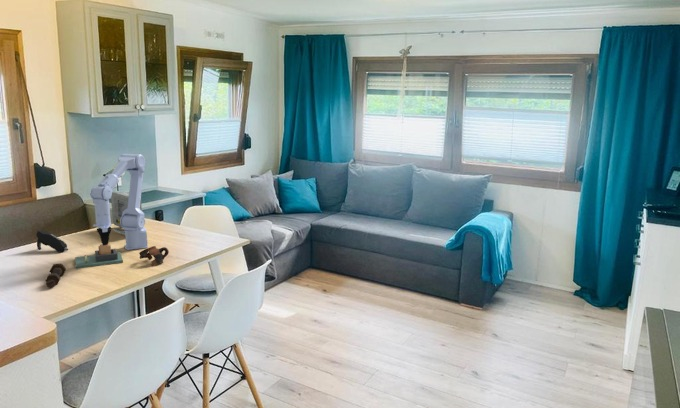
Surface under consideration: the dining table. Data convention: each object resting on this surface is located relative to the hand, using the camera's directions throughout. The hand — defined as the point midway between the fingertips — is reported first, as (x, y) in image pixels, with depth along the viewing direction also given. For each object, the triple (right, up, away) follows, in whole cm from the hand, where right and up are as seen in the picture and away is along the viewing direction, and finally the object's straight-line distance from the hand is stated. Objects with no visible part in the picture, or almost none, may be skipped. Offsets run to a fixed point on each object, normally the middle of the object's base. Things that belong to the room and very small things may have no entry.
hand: (105, 244), depth 220 cm
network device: (-10, +3, +47) cm, 48 cm away
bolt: (-8, -13, -24) cm, 29 cm away
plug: (0, -6, +1) cm, 6 cm away
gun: (-30, -4, +13) cm, 33 cm away
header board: (-3, -7, 0) cm, 8 cm away
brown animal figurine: (+22, -8, 0) cm, 23 cm away
